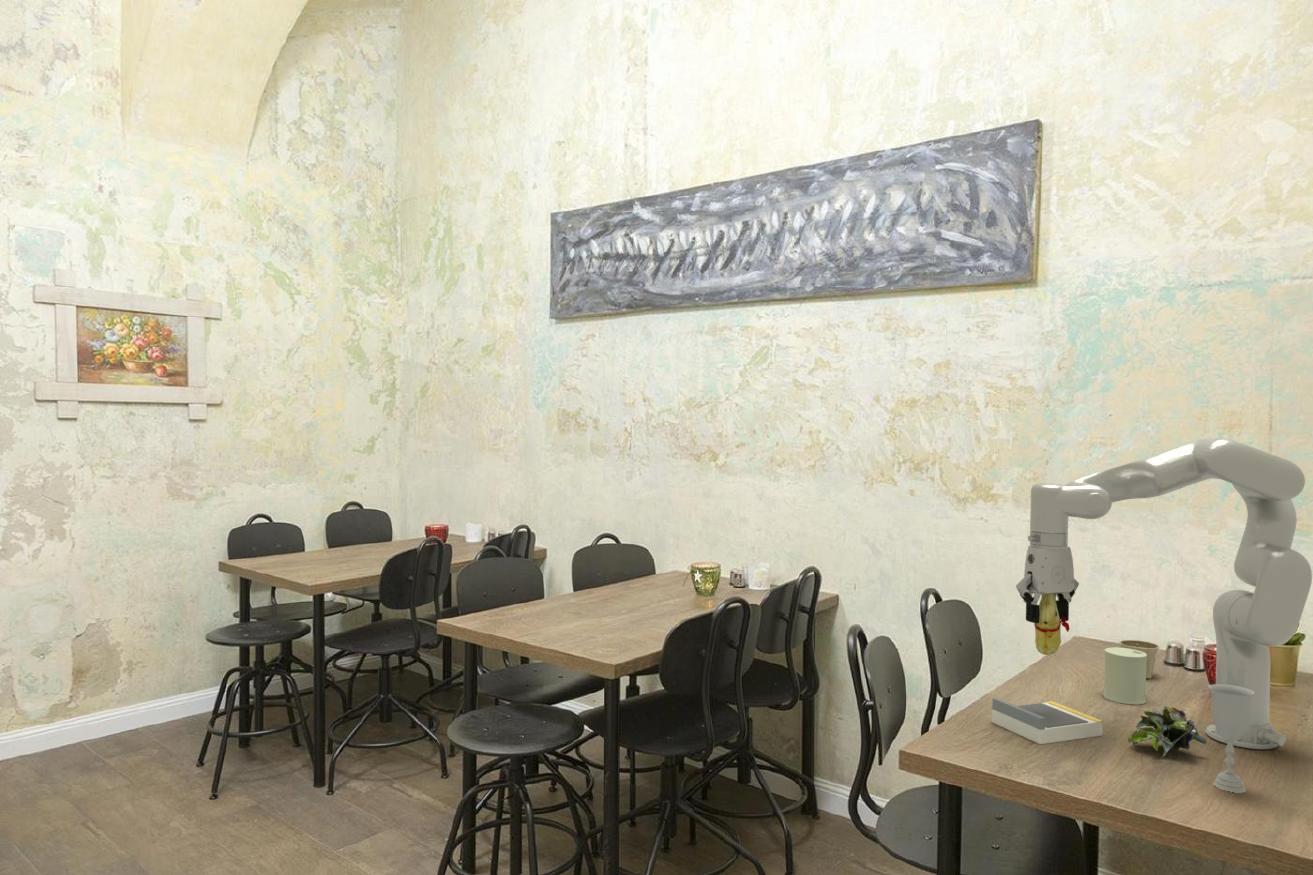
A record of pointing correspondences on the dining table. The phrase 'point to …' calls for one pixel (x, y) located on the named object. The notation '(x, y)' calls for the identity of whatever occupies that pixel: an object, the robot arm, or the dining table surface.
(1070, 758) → the dining table surface
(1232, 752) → the chalice
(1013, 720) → the dock
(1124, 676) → the can
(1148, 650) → the flower pot
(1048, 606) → the chocolate bunny
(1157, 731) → the leafy plant
